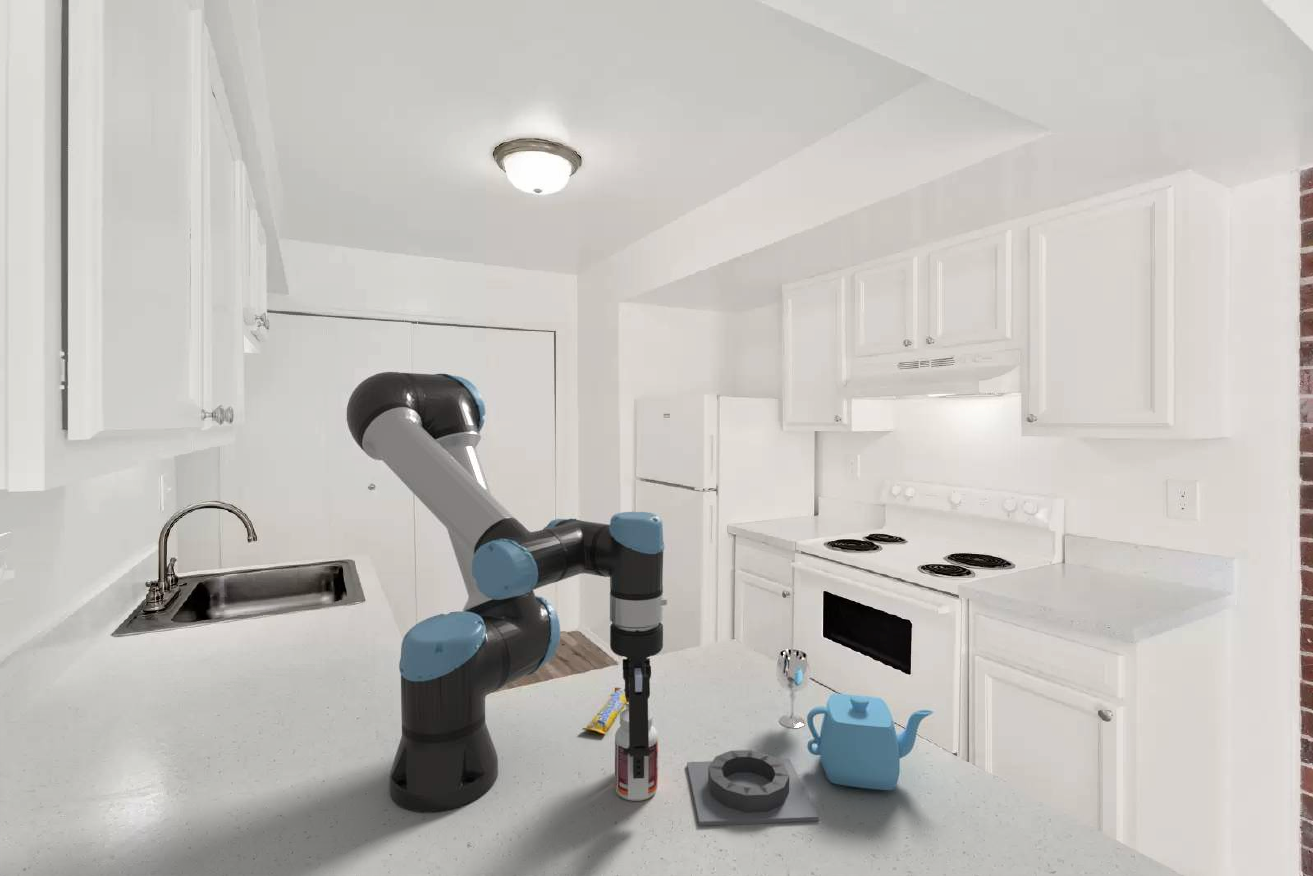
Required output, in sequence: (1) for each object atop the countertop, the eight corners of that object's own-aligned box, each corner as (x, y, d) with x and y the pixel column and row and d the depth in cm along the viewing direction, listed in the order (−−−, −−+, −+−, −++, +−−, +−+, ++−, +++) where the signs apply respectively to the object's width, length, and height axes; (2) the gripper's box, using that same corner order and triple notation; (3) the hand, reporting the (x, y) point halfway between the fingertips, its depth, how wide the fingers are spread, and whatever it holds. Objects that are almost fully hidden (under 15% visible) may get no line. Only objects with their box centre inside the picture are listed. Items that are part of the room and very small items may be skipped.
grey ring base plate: (699, 826, 84) (699, 804, 84) (687, 765, 98) (687, 747, 98) (818, 821, 85) (818, 799, 85) (789, 762, 99) (789, 743, 99)
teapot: (940, 806, 88) (942, 726, 88) (807, 789, 92) (808, 712, 92) (922, 758, 100) (924, 687, 100) (805, 745, 104) (806, 676, 104)
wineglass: (812, 717, 113) (813, 651, 112) (805, 733, 108) (806, 663, 107) (779, 711, 116) (780, 646, 115) (771, 725, 110) (772, 657, 110)
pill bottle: (666, 793, 91) (666, 718, 90) (629, 808, 88) (629, 730, 87) (642, 772, 96) (643, 701, 96) (607, 785, 93) (607, 711, 92)
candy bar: (615, 693, 123) (615, 684, 123) (635, 696, 122) (635, 687, 122) (580, 737, 107) (581, 726, 107) (604, 741, 106) (604, 730, 106)
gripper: (670, 655, 79) (669, 824, 80) (657, 596, 103) (656, 726, 104) (609, 656, 78) (609, 826, 79) (610, 597, 102) (610, 728, 104)
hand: (636, 770), depth 92 cm, fingers open, 12 cm apart
